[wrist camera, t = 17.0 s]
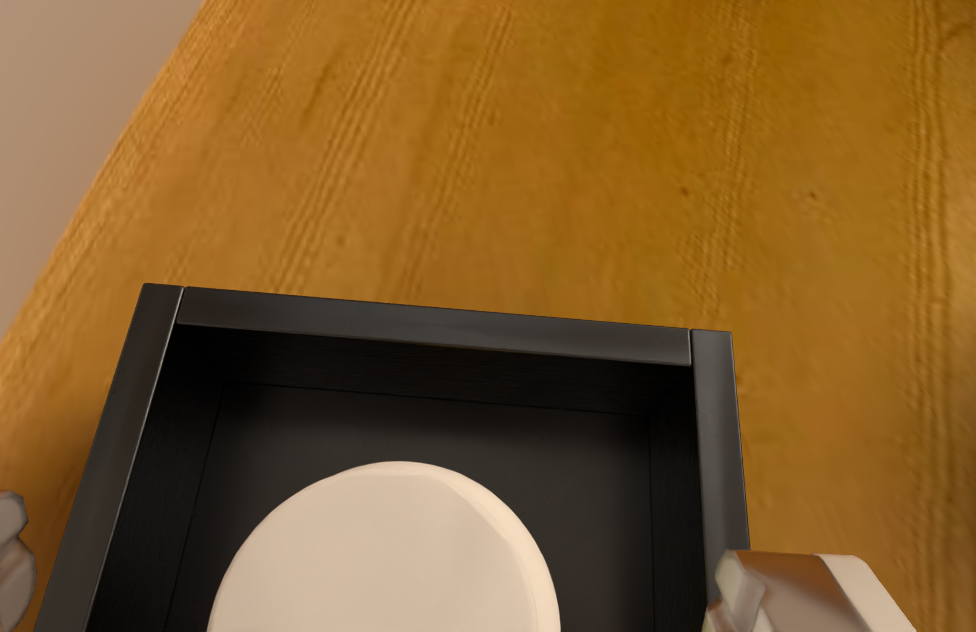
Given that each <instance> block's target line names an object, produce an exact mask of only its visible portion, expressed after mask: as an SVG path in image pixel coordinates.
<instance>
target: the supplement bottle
mask: <svg viewBox="0 0 976 632" xmlns="http://www.w3.org/2000/svg"><path fill="white" fill-rule="evenodd" d="M207 632H561V628H560V617H559V608H558V603H557V598H556V593H555V589H554V585H553V582H552V579H551V576H550V573H549V570H548V567H547V564H546V562H545V560H544V557H543V555H542V554H541V552H540V550H539V548H538V546H537V544H536V542H535V541H534V539H533V538H532V536H531V535H530V533H529V531H528V530H527V529H526V527H525V526H524V525H523V523H522V522H521V521H520V519H519V518H518V517H517V516H516V515H515V514H514V513H513V511H512V510H511V509H510V508H509V507H508V506H507V505H506V504H505V503H503V502H502V501H501V500H500V499H499V498H498V497H497V496H495V495H494V494H493V493H492V492H491V491H489V490H488V489H486V488H485V487H483V486H482V485H480V484H479V483H477V482H475V481H473V480H471V479H469V478H468V477H466V476H464V475H462V474H460V473H457V472H455V471H452V470H448V469H445V468H442V467H438V466H435V465H430V464H424V463H417V462H407V461H391V462H380V463H373V464H368V465H363V466H359V467H355V468H352V469H349V470H346V471H343V472H340V473H338V474H336V475H334V476H331V477H328V478H325V479H323V480H320V481H318V482H316V483H314V484H312V485H310V486H308V487H306V488H304V489H303V490H301V491H300V492H298V493H296V494H295V495H293V496H292V497H290V498H289V499H287V500H286V501H284V502H283V503H282V504H280V505H279V506H278V507H277V508H275V509H274V510H273V511H272V512H271V513H270V514H269V515H268V516H267V517H266V518H265V519H264V520H263V521H262V522H261V523H260V524H259V525H258V526H257V527H256V528H255V529H254V530H253V532H252V533H251V534H250V535H249V537H248V538H247V539H246V541H245V542H244V543H243V544H242V546H241V547H240V549H239V550H238V552H237V553H236V555H235V557H234V558H233V560H232V562H231V564H230V566H229V568H228V570H227V571H226V573H225V575H224V577H223V580H222V582H221V584H220V587H219V589H218V592H217V594H216V597H215V601H214V604H213V607H212V611H211V614H210V619H209V623H208V628H207Z"/></svg>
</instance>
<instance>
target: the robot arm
mask: <svg viewBox="0 0 976 632" xmlns="http://www.w3.org/2000/svg"><path fill="white" fill-rule="evenodd" d="M27 523H28V517H27V513H26V509H25V504H24V500H23V497H21V496H20V495H18V494H16V493H15V492H13V491H11V490H4V489H0V632H12V631H13V630H14V629H15V628H16V626H17V625H18V624H19V623H20V621H21V620H22V619H23V617H24V615H25V613H26V610H27V608H28V606H29V604H30V601H31V599H32V597H33V594H34V592H35V583H36V574H37V569H36V563H35V557H34V553H33V552H32V551H31V550H30V549H29V548H28V547H27V546H26V545H25V544H24V542H23V541H22V540H21V539H20V538H19V537H18V536H19V534H20V533H21V531H22V530H23V529H24V527H25V526H26V524H27ZM714 577H715V580H716V582H717V584H718V587H719V589H720V592H721V595H720V596H719V597H718V598H716V599H715V600H714V601H713V602H712V603H711V604H709V605H708V606H707V607H706V612H705V617H704V622H703V627H702V632H917V631H916V630H915V628H914V627H913V626H912V624H911V623H910V622H909V620H908V619H907V618H906V616H905V615H904V614H903V612H902V611H901V610H900V608H899V607H898V606H897V604H896V603H895V601H894V600H893V599H892V597H891V596H890V595H889V593H888V592H887V591H886V589H885V588H884V587H883V585H882V584H881V583H880V581H879V580H878V579H877V577H876V576H875V575H874V573H873V572H872V570H871V569H870V568H869V566H868V565H867V564H866V563H865V562H864V561H862V560H861V559H859V558H858V557H856V556H852V555H833V554H814V553H812V554H810V555H806V554H793V553H780V552H766V551H753V550H740V549H727V548H725V550H724V551H723V553H722V554H721V556H720V558H719V560H718V564H717V568H716V571H715V575H714Z"/></svg>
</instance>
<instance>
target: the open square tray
mask: <svg viewBox="0 0 976 632" xmlns="http://www.w3.org/2000/svg"><path fill="white" fill-rule="evenodd" d="M391 461H407V462H417V463H424V464H430V465H435V466H438V467H442V468H445V469H448V470H452V471H455V472H457V473H460V474H462V475H464V476H466V477H468V478H469V479H471V480H473V481H475V482H477V483H479V484H480V485H482V486H483V487H485V488H486V489H488V490H489V491H491V492H492V493H493V494H494V495H495V496H497V497H498V498H499V499H500V500H501V501H502V502H503V503H505V504H506V505H507V506H508V507H509V508H510V509H511V510H512V511H513V513H514V514H515V515H516V516H517V517H518V518H519V519H520V521H521V522H522V523H523V525H524V526H525V527H526V529H527V530H528V531H529V533H530V535H531V536H532V538H533V539H534V541H535V542H536V544H537V546H538V548H539V550H540V552H541V554H542V555H543V557H544V560H545V562H546V564H547V567H548V570H549V573H550V576H551V579H552V582H553V585H554V589H555V593H556V598H557V603H558V608H559V617H560V628H561V632H702V627H703V622H704V617H705V612H706V607H707V606H708V605H709V604H711V603H712V602H713V601H714V600H715V599H716V598H718V597H719V596H720V595H721V592H720V589H719V587H718V584H717V582H716V580H715V577H714V575H715V571H716V568H717V564H718V560H719V558H720V556H721V554H722V553H723V551H724V550H725V548H727V549H740V550H750V539H749V528H748V516H747V505H746V493H745V482H744V470H743V458H742V447H741V435H740V424H739V412H738V401H737V389H736V378H735V366H734V354H733V343H732V333H731V332H726V331H714V330H702V329H691V330H689V329H687V328H676V327H664V326H652V325H640V324H628V323H616V322H605V321H593V320H581V319H569V318H557V317H545V316H533V315H522V314H510V313H498V312H486V311H474V310H462V309H451V308H439V307H427V306H415V305H403V304H391V303H380V302H368V301H356V300H344V299H332V298H320V297H308V296H297V295H285V294H273V293H261V292H249V291H237V290H226V289H214V288H202V287H190V286H188V287H186V288H185V287H183V286H177V285H165V284H153V283H144V284H143V286H142V289H141V292H140V295H139V299H138V302H137V305H136V308H135V311H134V314H133V317H132V321H131V324H130V327H129V330H128V333H127V336H126V340H125V343H124V346H123V349H122V352H121V355H120V359H119V362H118V365H117V368H116V371H115V374H114V377H113V381H112V384H111V387H110V390H109V393H108V396H107V400H106V403H105V406H104V409H103V412H102V415H101V418H100V422H99V425H98V428H97V431H96V434H95V437H94V441H93V444H92V447H91V450H90V453H89V456H88V460H87V463H86V466H85V469H84V472H83V475H82V478H81V482H80V485H79V488H78V491H77V494H76V497H75V501H74V504H73V507H72V510H71V513H70V516H69V520H68V523H67V526H66V529H65V532H64V535H63V538H62V542H61V545H60V548H59V551H58V554H57V557H56V561H55V564H54V567H53V570H52V573H51V576H50V580H49V583H48V586H47V589H46V592H45V595H44V598H43V602H42V605H41V608H40V611H39V614H38V617H37V621H36V624H35V627H34V630H33V632H207V628H208V623H209V619H210V614H211V611H212V607H213V604H214V601H215V597H216V594H217V592H218V589H219V587H220V584H221V582H222V580H223V577H224V575H225V573H226V571H227V570H228V568H229V566H230V564H231V562H232V560H233V558H234V557H235V555H236V553H237V552H238V550H239V549H240V547H241V546H242V544H243V543H244V542H245V541H246V539H247V538H248V537H249V535H250V534H251V533H252V532H253V530H254V529H255V528H256V527H257V526H258V525H259V524H260V523H261V522H262V521H263V520H264V519H265V518H266V517H267V516H268V515H269V514H270V513H271V512H272V511H273V510H274V509H275V508H277V507H278V506H279V505H280V504H282V503H283V502H284V501H286V500H287V499H289V498H290V497H292V496H293V495H295V494H296V493H298V492H300V491H301V490H303V489H304V488H306V487H308V486H310V485H312V484H314V483H316V482H318V481H320V480H323V479H325V478H328V477H331V476H334V475H336V474H338V473H340V472H343V471H346V470H349V469H352V468H355V467H359V466H363V465H368V464H373V463H380V462H391Z"/></svg>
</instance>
